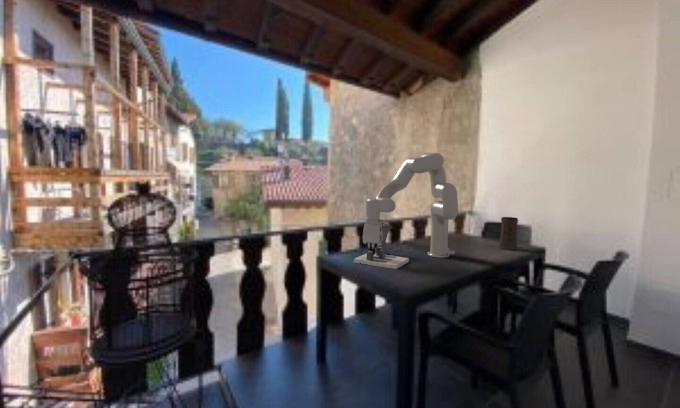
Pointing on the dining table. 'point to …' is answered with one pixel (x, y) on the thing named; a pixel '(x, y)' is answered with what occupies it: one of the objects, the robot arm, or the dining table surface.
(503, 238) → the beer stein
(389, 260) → the panel
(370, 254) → the breaker
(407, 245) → the dining table surface
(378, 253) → the block
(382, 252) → the block
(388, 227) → the moka pot
